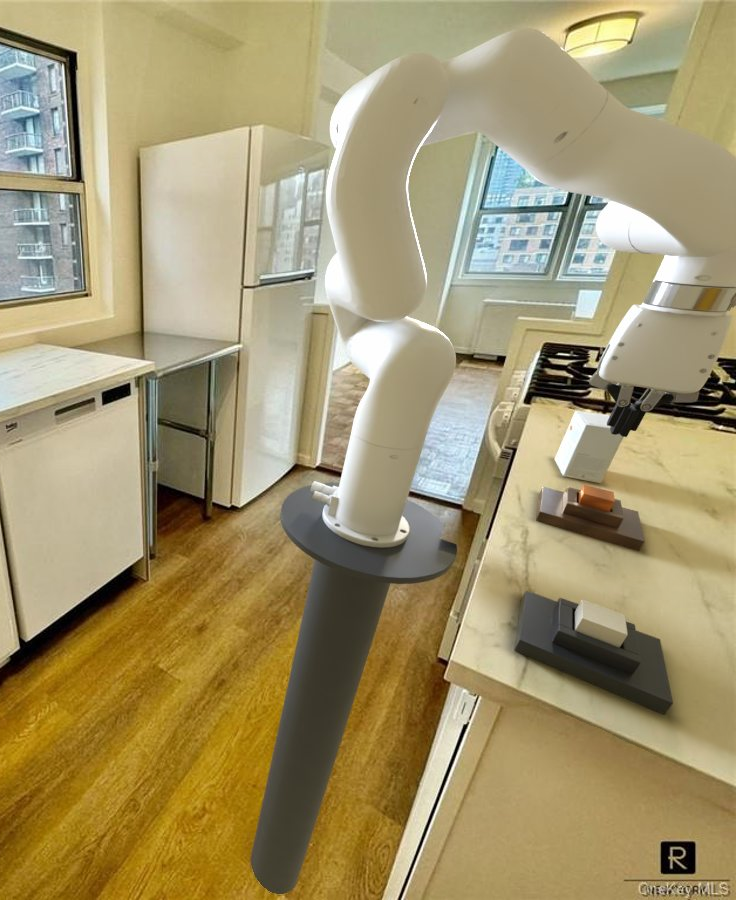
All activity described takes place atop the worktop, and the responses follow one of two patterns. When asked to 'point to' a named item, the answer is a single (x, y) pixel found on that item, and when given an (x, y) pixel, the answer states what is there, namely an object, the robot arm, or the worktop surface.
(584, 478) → the small box
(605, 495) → the key
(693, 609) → the worktop surface
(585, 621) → the key
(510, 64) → the robot arm
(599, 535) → the stepped brown stand
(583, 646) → the stepped grey stand
